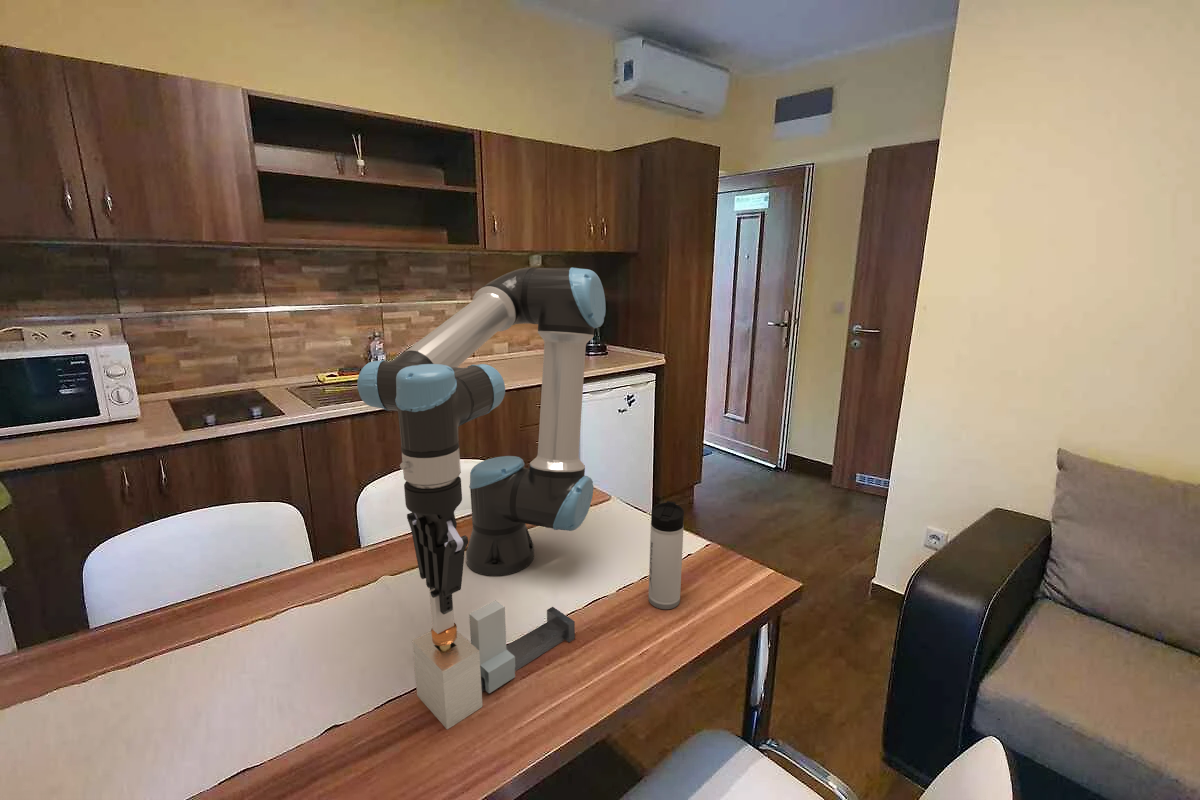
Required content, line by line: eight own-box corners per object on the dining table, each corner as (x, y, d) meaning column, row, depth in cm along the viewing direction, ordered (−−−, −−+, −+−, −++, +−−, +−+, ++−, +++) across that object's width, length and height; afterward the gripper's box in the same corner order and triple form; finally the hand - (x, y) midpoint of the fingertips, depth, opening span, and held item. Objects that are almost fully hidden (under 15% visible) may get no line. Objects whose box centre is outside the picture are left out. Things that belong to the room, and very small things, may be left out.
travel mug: (682, 593, 113) (687, 503, 108) (676, 612, 107) (680, 518, 102) (653, 587, 115) (656, 498, 110) (644, 606, 109) (647, 512, 104)
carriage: (465, 671, 91) (461, 607, 88) (491, 656, 94) (487, 594, 91) (489, 694, 86) (486, 627, 83) (515, 677, 90) (513, 613, 87)
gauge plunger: (430, 677, 84) (426, 628, 82) (451, 665, 87) (448, 617, 84) (443, 689, 82) (439, 639, 79) (464, 677, 84) (461, 628, 82)
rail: (417, 695, 86) (412, 640, 84) (547, 619, 104) (546, 572, 102) (447, 729, 80) (442, 671, 78) (580, 642, 98) (580, 593, 96)
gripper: (384, 472, 78) (398, 618, 84) (431, 500, 69) (443, 662, 75) (433, 459, 83) (443, 598, 89) (482, 484, 74) (490, 636, 80)
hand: (443, 627), depth 82 cm, fingers closed
